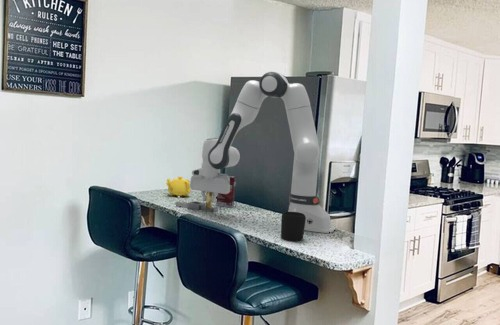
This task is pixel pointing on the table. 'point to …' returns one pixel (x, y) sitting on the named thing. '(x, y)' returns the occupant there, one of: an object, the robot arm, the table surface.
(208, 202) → the pin
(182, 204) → the chain joint
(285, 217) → the pen holder
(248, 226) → the table surface
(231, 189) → the supplement box
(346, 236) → the table surface
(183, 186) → the teapot
